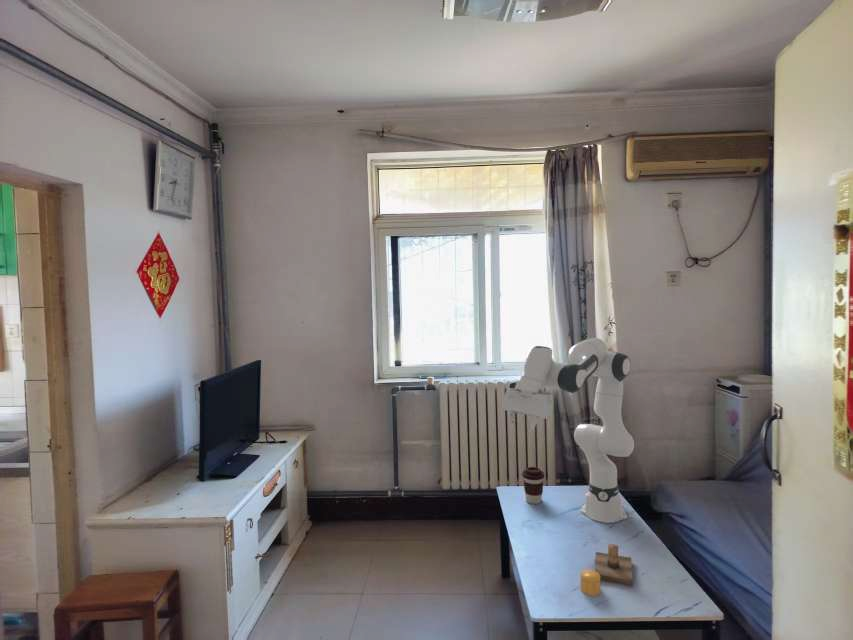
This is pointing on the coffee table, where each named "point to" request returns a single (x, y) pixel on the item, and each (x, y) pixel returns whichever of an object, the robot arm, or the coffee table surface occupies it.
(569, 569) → the coffee table surface
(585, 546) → the coffee table surface
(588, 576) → the domed octagonal prism
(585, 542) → the coffee table surface
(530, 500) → the coffee cup
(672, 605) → the coffee table surface
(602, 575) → the wooden peg stand
